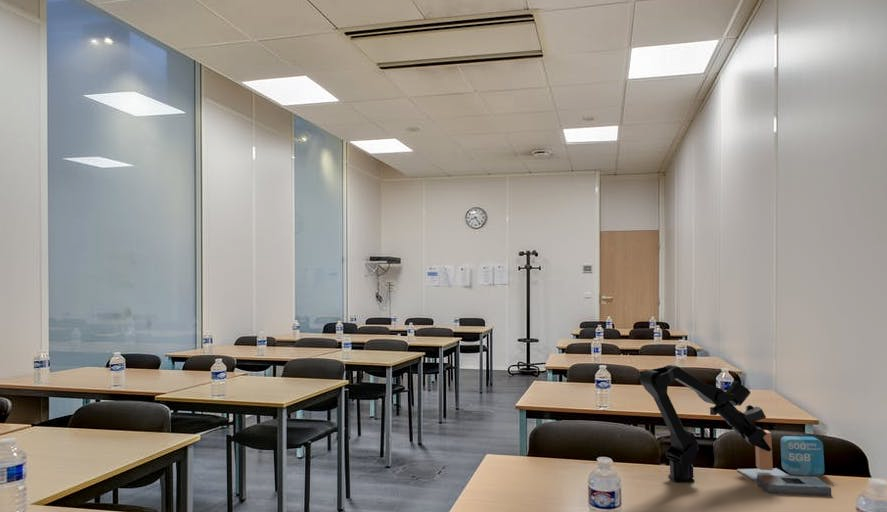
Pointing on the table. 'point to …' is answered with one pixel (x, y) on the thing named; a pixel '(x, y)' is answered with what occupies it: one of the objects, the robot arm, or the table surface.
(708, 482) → the table surface
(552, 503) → the table surface
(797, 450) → the data package
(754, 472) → the pad
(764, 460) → the peg
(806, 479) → the grey base plate
